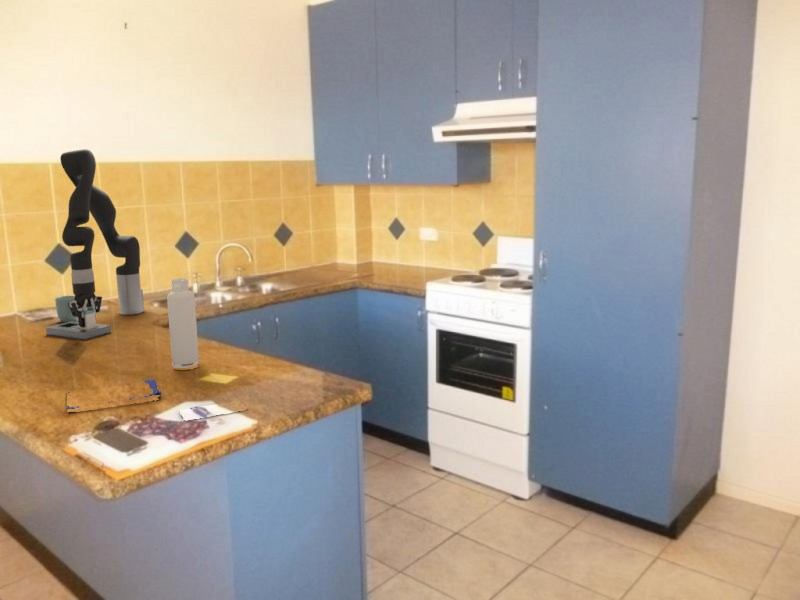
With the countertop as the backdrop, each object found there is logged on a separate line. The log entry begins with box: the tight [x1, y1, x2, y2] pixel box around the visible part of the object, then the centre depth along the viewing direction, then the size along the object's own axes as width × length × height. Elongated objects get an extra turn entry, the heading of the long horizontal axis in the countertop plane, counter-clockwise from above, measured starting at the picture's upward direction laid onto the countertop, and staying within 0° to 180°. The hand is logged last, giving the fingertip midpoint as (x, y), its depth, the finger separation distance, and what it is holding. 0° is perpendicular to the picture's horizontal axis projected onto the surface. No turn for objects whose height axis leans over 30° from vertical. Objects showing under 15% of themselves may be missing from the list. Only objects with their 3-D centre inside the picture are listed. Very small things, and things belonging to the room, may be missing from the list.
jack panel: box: [45, 320, 112, 341], centre depth 254 cm, size 12×20×3 cm, turn 66°
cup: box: [54, 295, 78, 323], centre depth 275 cm, size 8×8×10 cm
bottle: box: [166, 277, 200, 368], centre depth 209 cm, size 8×8×28 cm
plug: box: [80, 308, 97, 330], centre depth 251 cm, size 4×4×9 cm
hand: (87, 325), depth 252 cm, fingers closed on plug, 4 cm apart
